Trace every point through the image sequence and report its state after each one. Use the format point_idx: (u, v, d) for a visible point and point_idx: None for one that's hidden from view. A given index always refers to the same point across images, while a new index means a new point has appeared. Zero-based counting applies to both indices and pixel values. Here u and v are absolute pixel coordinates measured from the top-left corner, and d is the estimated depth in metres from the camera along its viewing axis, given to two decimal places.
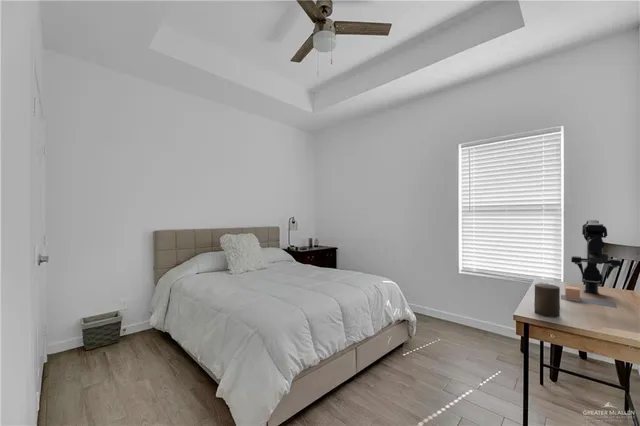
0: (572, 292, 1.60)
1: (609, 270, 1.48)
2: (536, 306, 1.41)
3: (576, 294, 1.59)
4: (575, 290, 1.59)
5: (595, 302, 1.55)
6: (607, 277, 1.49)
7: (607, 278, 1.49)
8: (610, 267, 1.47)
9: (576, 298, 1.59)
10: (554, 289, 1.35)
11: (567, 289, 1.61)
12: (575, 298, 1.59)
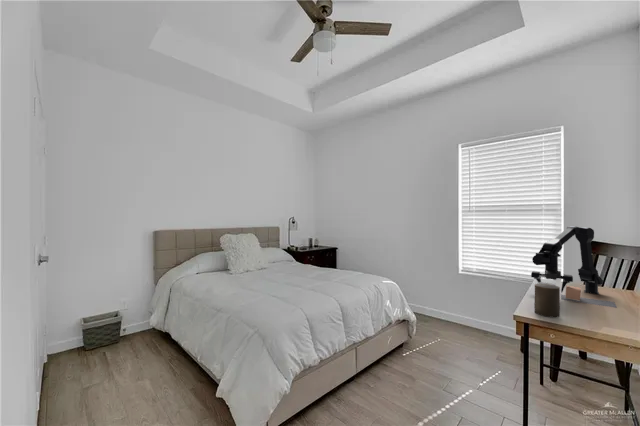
0: (573, 292, 1.60)
1: (563, 285, 1.63)
2: (536, 306, 1.41)
3: (577, 294, 1.59)
4: (576, 290, 1.59)
5: (595, 302, 1.55)
6: (561, 291, 1.65)
7: (561, 292, 1.65)
8: (563, 282, 1.62)
9: (576, 298, 1.59)
10: (554, 289, 1.35)
11: (568, 289, 1.61)
12: (575, 298, 1.59)
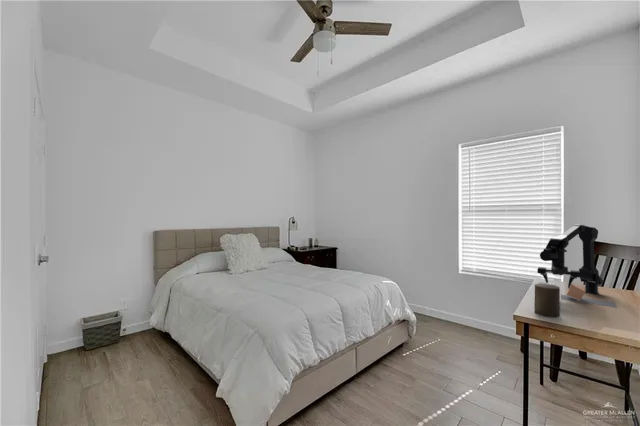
0: (576, 291, 1.59)
1: (570, 281, 1.62)
2: (536, 306, 1.41)
3: (579, 294, 1.58)
4: (580, 290, 1.58)
5: (595, 302, 1.55)
6: (568, 287, 1.63)
7: None
8: (570, 278, 1.61)
9: (577, 297, 1.58)
10: (554, 289, 1.35)
11: (573, 287, 1.60)
12: (576, 297, 1.59)
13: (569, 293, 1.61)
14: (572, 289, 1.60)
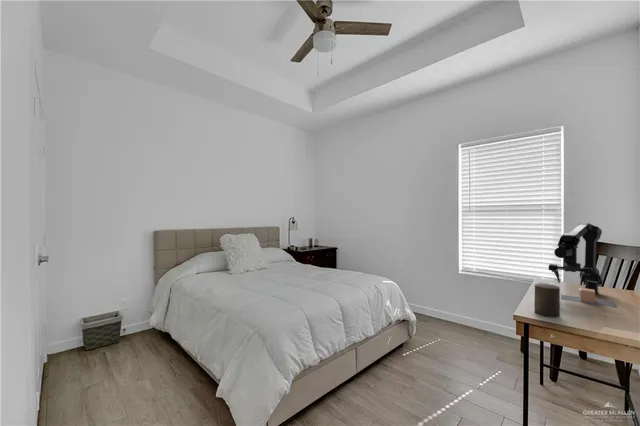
0: (590, 296, 1.55)
1: (582, 278, 1.58)
2: (536, 306, 1.41)
3: (588, 299, 1.56)
4: (593, 299, 1.54)
5: (595, 302, 1.55)
6: (581, 284, 1.59)
7: (581, 285, 1.59)
8: (583, 275, 1.57)
9: (582, 298, 1.57)
10: (554, 289, 1.35)
11: (593, 293, 1.54)
12: (582, 298, 1.57)
13: (583, 291, 1.57)
14: (590, 293, 1.55)
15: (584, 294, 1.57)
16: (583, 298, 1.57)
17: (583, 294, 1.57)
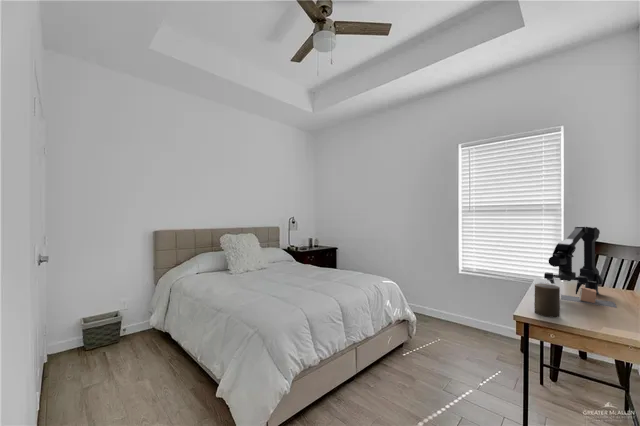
0: (590, 296, 1.55)
1: (577, 286, 1.60)
2: (536, 306, 1.41)
3: (588, 299, 1.56)
4: (593, 299, 1.54)
5: (595, 302, 1.55)
6: (576, 293, 1.61)
7: None
8: (578, 284, 1.58)
9: (582, 298, 1.57)
10: (554, 289, 1.35)
11: (594, 293, 1.54)
12: (582, 297, 1.57)
13: (584, 291, 1.57)
14: (591, 293, 1.55)
15: (585, 293, 1.56)
16: (583, 297, 1.57)
17: (584, 293, 1.57)
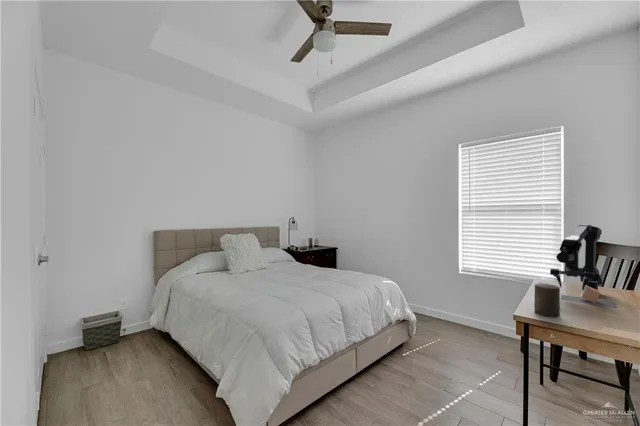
0: (593, 296, 1.54)
1: (584, 282, 1.58)
2: (536, 306, 1.41)
3: (590, 298, 1.55)
4: (595, 299, 1.54)
5: (595, 302, 1.55)
6: (582, 289, 1.59)
7: None
8: (585, 280, 1.57)
9: (584, 296, 1.57)
10: (554, 289, 1.35)
11: (598, 294, 1.53)
12: (584, 295, 1.57)
13: (589, 290, 1.55)
14: (595, 293, 1.54)
15: (588, 292, 1.55)
16: (585, 295, 1.56)
17: (587, 292, 1.56)
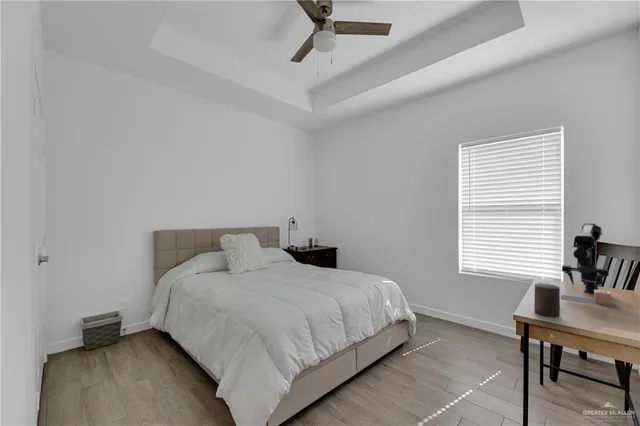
0: (603, 300, 1.52)
1: (597, 279, 1.54)
2: (536, 306, 1.41)
3: (598, 298, 1.53)
4: (599, 302, 1.53)
5: None
6: (595, 286, 1.55)
7: (595, 287, 1.55)
8: (598, 276, 1.53)
9: (598, 294, 1.53)
10: (554, 289, 1.35)
11: (608, 304, 1.51)
12: (599, 294, 1.53)
13: (608, 296, 1.51)
14: (608, 301, 1.51)
15: (605, 296, 1.51)
16: (599, 295, 1.53)
17: (605, 296, 1.51)
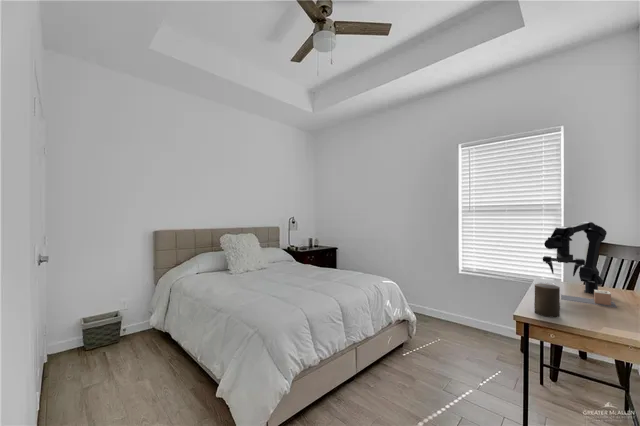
0: (603, 300, 1.52)
1: (575, 268, 1.65)
2: (536, 306, 1.41)
3: (598, 298, 1.53)
4: (599, 302, 1.53)
5: None
6: (573, 275, 1.66)
7: None
8: (576, 266, 1.64)
9: (598, 294, 1.53)
10: (554, 289, 1.35)
11: (608, 304, 1.51)
12: (599, 294, 1.53)
13: (608, 296, 1.51)
14: (608, 301, 1.51)
15: (605, 296, 1.51)
16: (599, 295, 1.53)
17: (605, 296, 1.51)
